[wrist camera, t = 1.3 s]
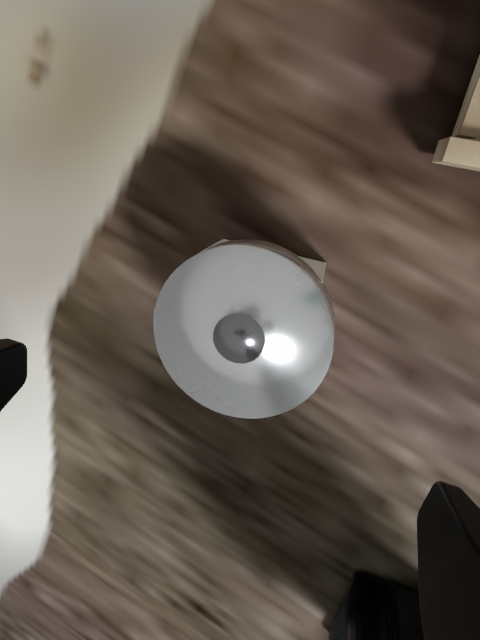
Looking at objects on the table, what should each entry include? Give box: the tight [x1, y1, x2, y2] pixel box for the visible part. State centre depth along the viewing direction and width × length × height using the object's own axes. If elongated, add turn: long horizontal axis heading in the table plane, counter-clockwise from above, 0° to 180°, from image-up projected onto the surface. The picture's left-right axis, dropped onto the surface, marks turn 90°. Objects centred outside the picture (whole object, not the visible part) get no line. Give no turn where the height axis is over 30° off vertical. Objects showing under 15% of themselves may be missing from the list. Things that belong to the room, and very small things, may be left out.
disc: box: [153, 239, 335, 419], centre depth 16 cm, size 7×7×2 cm
